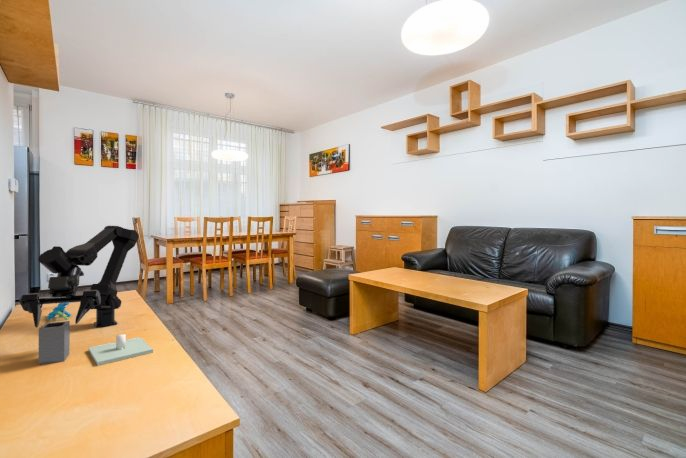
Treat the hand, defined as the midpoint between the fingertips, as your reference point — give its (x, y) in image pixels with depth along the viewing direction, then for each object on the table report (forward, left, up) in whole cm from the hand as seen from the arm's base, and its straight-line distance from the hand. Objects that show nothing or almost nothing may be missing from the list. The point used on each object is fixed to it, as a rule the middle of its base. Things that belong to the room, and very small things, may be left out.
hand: (56, 324), depth 98 cm
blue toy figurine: (-45, +5, -10) cm, 46 cm away
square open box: (+2, -1, -9) cm, 10 cm away
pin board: (+8, +14, -9) cm, 19 cm away
